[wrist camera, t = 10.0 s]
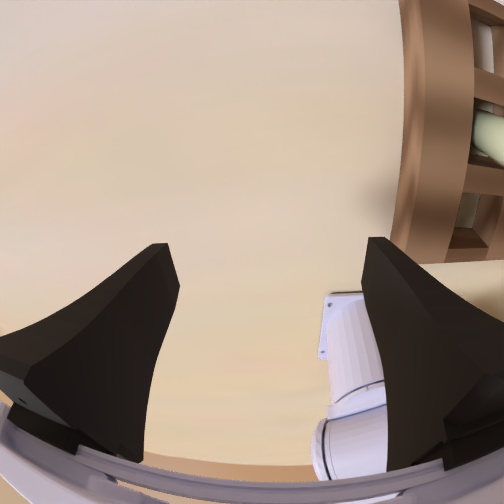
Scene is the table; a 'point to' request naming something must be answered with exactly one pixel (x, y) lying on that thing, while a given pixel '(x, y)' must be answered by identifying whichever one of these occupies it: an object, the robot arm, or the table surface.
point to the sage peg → (488, 134)
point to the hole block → (447, 134)
